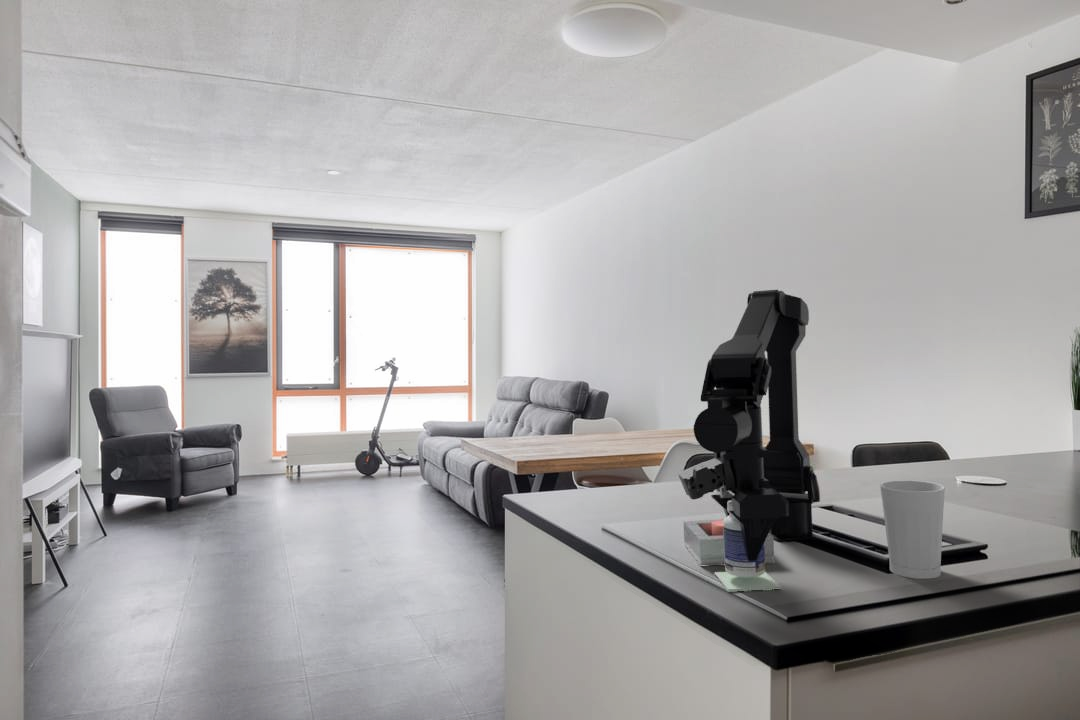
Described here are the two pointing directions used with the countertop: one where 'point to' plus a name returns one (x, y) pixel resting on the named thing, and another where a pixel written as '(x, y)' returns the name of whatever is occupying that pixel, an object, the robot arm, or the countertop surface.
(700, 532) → the frame
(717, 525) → the plunger
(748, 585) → the pad
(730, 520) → the pill bottle
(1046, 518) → the countertop surface
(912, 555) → the cup
